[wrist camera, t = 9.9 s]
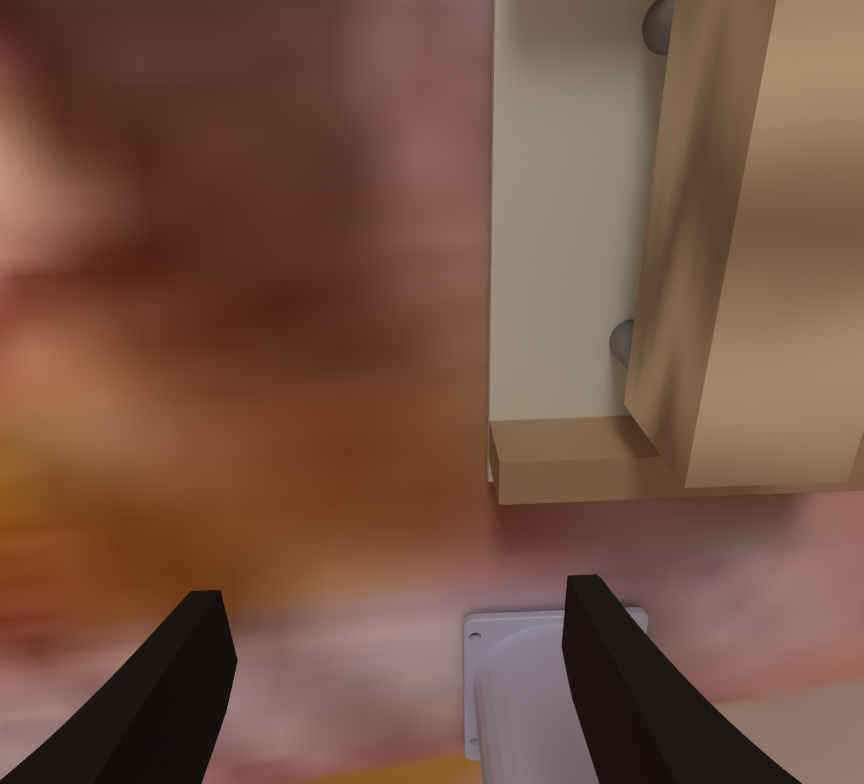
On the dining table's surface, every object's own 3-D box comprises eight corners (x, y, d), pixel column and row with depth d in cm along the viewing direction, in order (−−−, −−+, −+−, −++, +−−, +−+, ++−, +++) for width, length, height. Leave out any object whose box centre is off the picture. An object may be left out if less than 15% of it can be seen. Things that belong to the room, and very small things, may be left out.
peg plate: (797, 461, 23) (856, 515, 20) (486, 473, 22) (498, 529, 19) (992, -249, 14) (1154, -351, 11) (494, -235, 14) (517, -335, 11)
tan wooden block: (749, 399, 18) (846, 482, 14) (623, 404, 18) (684, 488, 14) (857, -73, 13) (1057, -158, 9) (683, -69, 13) (804, -152, 9)
